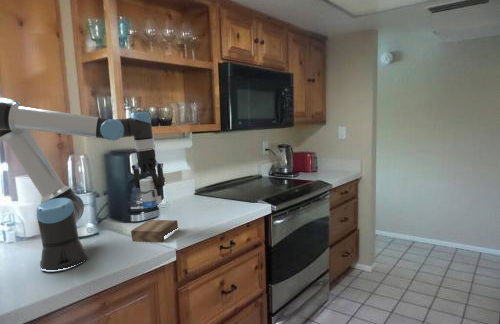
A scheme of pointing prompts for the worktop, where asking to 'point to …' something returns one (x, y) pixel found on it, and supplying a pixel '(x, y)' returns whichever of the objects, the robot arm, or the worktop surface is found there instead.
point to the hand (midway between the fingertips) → (152, 203)
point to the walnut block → (153, 230)
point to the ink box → (148, 192)
